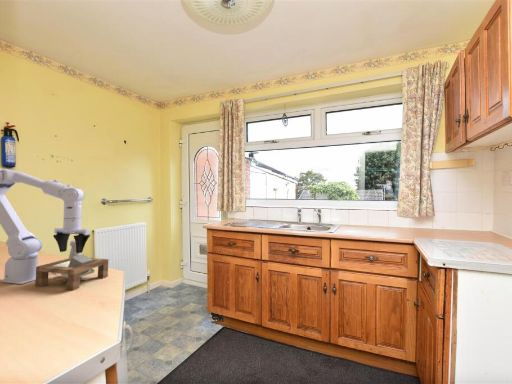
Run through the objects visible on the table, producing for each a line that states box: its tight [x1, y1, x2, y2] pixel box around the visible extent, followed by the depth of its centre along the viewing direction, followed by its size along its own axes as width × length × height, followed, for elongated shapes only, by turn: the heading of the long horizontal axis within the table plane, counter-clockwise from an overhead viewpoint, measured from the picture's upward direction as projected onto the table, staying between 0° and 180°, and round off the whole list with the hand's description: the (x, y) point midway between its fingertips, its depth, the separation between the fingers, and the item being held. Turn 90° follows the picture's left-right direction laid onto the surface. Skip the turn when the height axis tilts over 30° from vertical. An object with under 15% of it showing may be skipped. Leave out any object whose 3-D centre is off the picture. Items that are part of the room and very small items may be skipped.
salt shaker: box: [68, 239, 82, 258], centre depth 111 cm, size 6×6×13 cm
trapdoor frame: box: [34, 257, 109, 291], centre depth 97 cm, size 16×16×7 cm
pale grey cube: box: [68, 253, 93, 274], centre depth 96 cm, size 5×5×5 cm
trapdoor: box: [53, 261, 95, 279], centre depth 97 cm, size 10×10×1 cm
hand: (71, 252), depth 100 cm, fingers open, 7 cm apart
